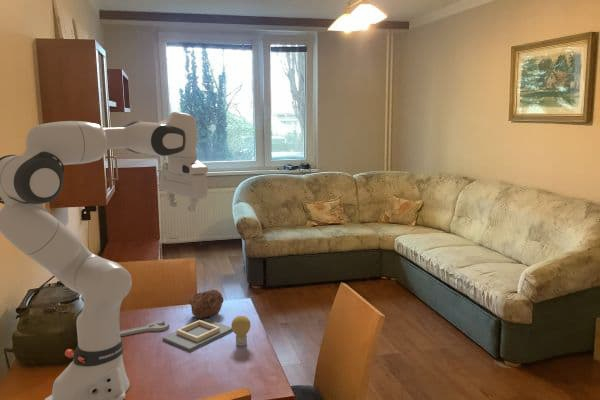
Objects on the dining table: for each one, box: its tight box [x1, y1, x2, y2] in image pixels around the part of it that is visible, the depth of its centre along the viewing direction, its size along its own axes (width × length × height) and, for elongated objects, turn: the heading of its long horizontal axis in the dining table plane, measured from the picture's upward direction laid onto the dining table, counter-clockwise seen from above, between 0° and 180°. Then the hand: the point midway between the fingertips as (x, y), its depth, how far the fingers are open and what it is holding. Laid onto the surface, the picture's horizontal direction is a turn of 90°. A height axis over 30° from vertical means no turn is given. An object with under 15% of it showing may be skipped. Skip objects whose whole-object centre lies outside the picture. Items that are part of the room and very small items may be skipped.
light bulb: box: [230, 315, 252, 347], centre depth 172 cm, size 6×6×10 cm
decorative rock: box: [188, 289, 224, 319], centre depth 197 cm, size 13×11×10 cm
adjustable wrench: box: [120, 320, 170, 337], centre depth 184 cm, size 25×6×2 cm, turn 111°
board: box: [162, 317, 233, 352], centre depth 180 cm, size 20×14×2 cm
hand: (182, 208), depth 162 cm, fingers open, 8 cm apart
